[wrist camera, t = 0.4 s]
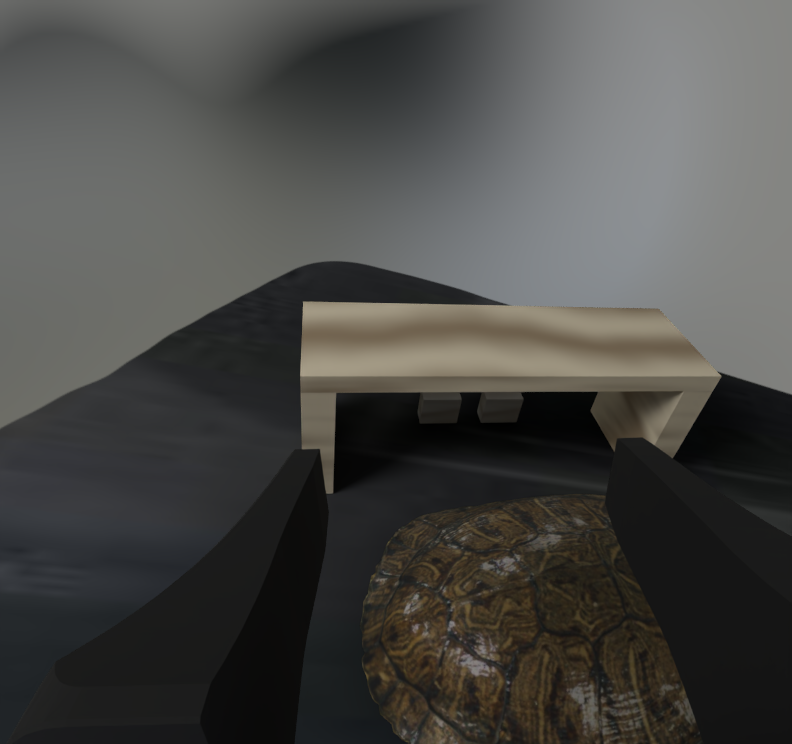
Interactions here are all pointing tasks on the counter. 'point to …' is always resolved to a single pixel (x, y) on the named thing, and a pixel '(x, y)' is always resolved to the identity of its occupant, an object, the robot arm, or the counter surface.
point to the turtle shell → (519, 631)
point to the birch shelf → (502, 365)
